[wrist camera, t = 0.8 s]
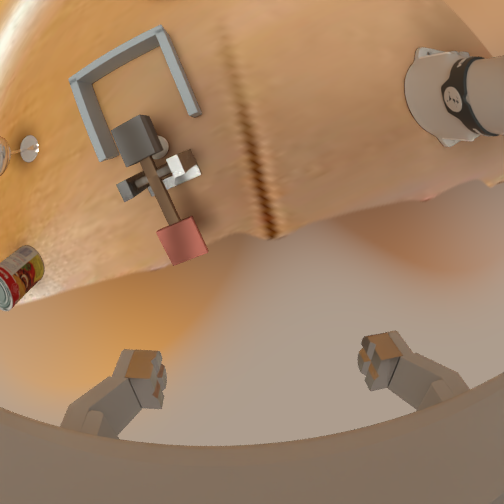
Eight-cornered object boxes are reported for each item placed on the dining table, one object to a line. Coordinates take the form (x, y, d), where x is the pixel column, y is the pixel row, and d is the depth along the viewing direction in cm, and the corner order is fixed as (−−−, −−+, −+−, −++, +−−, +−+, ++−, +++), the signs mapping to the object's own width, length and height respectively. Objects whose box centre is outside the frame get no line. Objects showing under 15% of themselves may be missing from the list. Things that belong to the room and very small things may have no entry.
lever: (163, 116, 37) (143, 112, 28) (212, 229, 44) (207, 255, 36) (134, 131, 38) (107, 132, 29) (184, 241, 45) (172, 269, 36)
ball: (165, 131, 39) (159, 131, 36) (174, 152, 40) (169, 154, 37) (145, 141, 39) (138, 142, 36) (154, 161, 40) (147, 164, 37)
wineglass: (47, 147, 37) (3, 157, 26) (29, 174, 39) (-14, 190, 28) (30, 122, 35) (-15, 127, 24) (12, 150, 36) (-31, 161, 25)
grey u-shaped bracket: (168, 34, 32) (161, 24, 28) (202, 114, 38) (197, 111, 34) (83, 82, 34) (68, 78, 29) (113, 158, 40) (99, 162, 35)
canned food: (21, 276, 47) (-10, 306, 36) (15, 243, 44) (-20, 268, 33) (47, 283, 48) (16, 315, 37) (41, 247, 45) (6, 276, 34)
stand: (190, 148, 40) (176, 154, 31) (201, 174, 42) (191, 187, 32) (141, 171, 41) (116, 184, 31) (152, 195, 43) (130, 215, 33)
